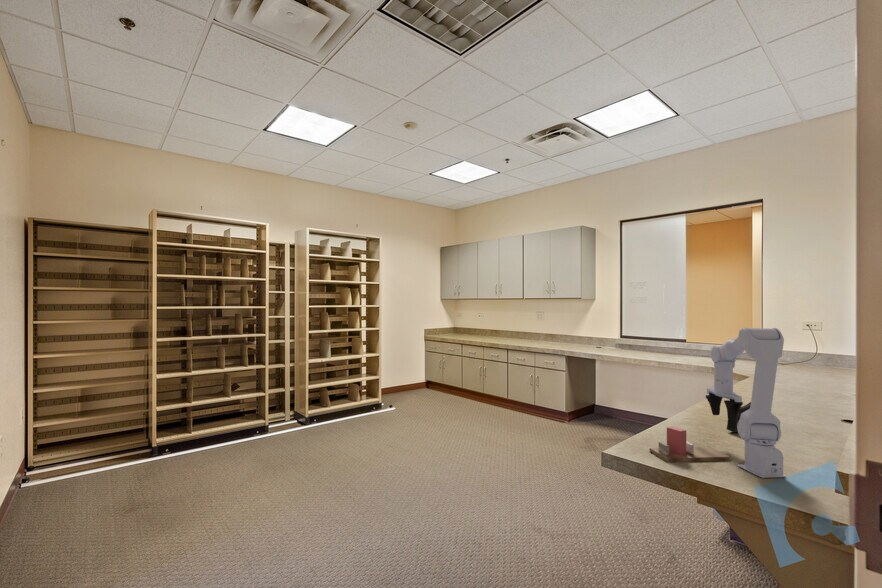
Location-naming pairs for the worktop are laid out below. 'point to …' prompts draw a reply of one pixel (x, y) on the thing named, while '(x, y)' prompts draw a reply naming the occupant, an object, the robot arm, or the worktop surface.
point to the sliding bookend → (689, 448)
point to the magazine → (737, 418)
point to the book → (676, 440)
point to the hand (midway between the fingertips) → (723, 417)
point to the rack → (698, 455)
